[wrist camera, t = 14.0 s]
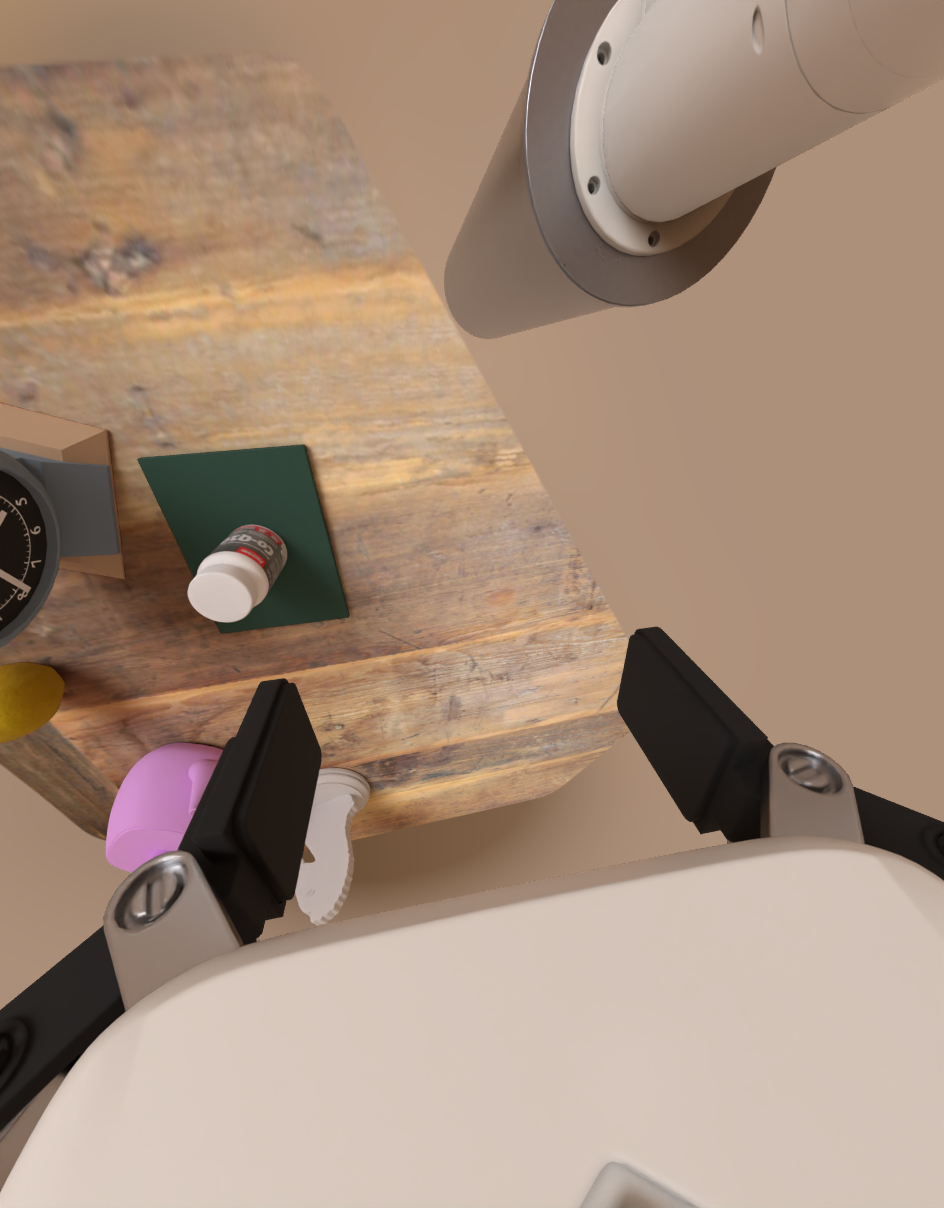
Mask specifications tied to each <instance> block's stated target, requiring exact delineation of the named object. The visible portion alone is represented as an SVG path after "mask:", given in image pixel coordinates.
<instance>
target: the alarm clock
mask: <svg viewBox="0 0 944 1208" xmlns="http://www.w3.org/2000/svg"><path fill="white" fill-rule="evenodd" d="M58 568H60V569H66V570H72V571H78V572H85V573H91V574H97V575H103V576H109V577H115V578H121V579H124V578H125V571H124V563H123V555H122V546H121V538H120V530H119V522H118V513H117V505H116V497H115V489H114V480H113V472H112V464H111V456H110V447H109V439H108V431H107V430H106V429H102V428H98V427H94V426H90V425H86V424H82V423H78V422H74V421H70V420H66V419H62V418H58V417H54V416H50V415H46V414H42V413H38V412H35V411H31V410H27V409H23V408H19V407H15V406H11V405H7V404H3V403H0V647H2V646H4V645H6V644H7V643H9V642H10V641H11V640H12V639H14V638H15V637H16V636H17V635H18V634H19V633H20V632H22V631H23V630H24V629H25V628H26V627H27V626H28V625H29V624H30V622H31V621H32V620H33V618H34V617H35V616H36V615H37V613H38V612H39V611H40V610H41V608H42V607H43V605H44V603H45V601H46V599H47V597H48V595H49V593H50V591H51V589H52V588H53V584H54V581H55V578H56V575H57V571H58Z"/></svg>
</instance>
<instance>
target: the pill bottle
mask: <svg viewBox="0 0 944 1208" xmlns="http://www.w3.org/2000/svg"><path fill="white" fill-rule="evenodd" d="M286 560H287V549H286V546H285V544H284V542H283V541H282V539H281V538H280V537H279V536H278V535H277V534H276V533H275V532H273V531H272V530H270V529H268V528H266V527H263V526H259V525H245V526H241V527H239V528H237V529H236V530H234V531H233V532H232V533H231V534H230V535H229V536H228V537H227V538H226V539H225V540H224V541H223V542H222V543H221V544H220V545H219V546H218V547H216V549H215V550H214V551H212V552H211V553H210V554H209V555H208V556H207V557H206V558H205V559H204V560H203V562H202V563H201V564H200V566H199V568H198V571H197V575H196V576H195V578H194V579H193V580H192V581H191V583H190V584H189V587H188V598H189V600H190V603H191V604H192V606H193V607H194V608H195V609H196V610H197V611H198V612H199V613H200V614H202V615H203V616H205V617H207V618H209V619H211V620H214V621H218V622H235V621H238V620H241V619H243V618H244V617H246V616H247V615H248V614H249V613H250V611H251V610H252V608H253V607H255V606H256V605H258V604H259V603H261V602H262V601H263V599H264V598H265V597H266V595H267V594H268V592H269V590H270V589H271V587H272V585H273V584H274V582H275V580H276V579H277V577H278V575H279V574H280V572H281V570H282V569H283V567H284V565H285V563H286Z"/></svg>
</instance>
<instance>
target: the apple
mask: <svg viewBox="0 0 944 1208" xmlns="http://www.w3.org/2000/svg"><path fill="white" fill-rule="evenodd" d="M64 690H65V683H64V681H63V679H62V677H61V676H60V675H58V673H57V672H56V671H55V670H54V669H53V668H52V667H49V666H46V665H40V664H36V663H32V662H19V663H13V664H6V665H2V666H0V743H4V742H8V741H12V740H14V739H17V738H20V737H22V736H25V735H27V734H29V733H31V732H33V731H35V730H37V729H38V728H40V727H41V726H43V725H44V724H45V723H47V722H48V721H49V720H50V719H51V718H52V717H53V716H54V715H55V713H56V712H57V710H58V708H59V707H60V704H61V700H62V697H63V694H64Z"/></svg>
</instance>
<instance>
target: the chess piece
mask: <svg viewBox="0 0 944 1208" xmlns="http://www.w3.org/2000/svg"><path fill="white" fill-rule="evenodd" d="M369 796H370V786H369V783H368V782H367V780H366V779H365V778H364V777H363V776H361V775H360V774H358V773H356V772H354V771H351V770H347V769H342V768H325V769H320V771H319V776H318V781H317V786H316V791H315V796H314V801H313V806H312V811H311V816H310V821H309V826H308V831H307V836H306V841H305V844H306V846H307V847H308V848H309V849H310V851H311V852H312V854H313V855H314V857H315V862H313V863H305V862H304V859H302V861H301V866H300V871H299V875H298V880H297V885H296V890H295V893H296V897H297V900H298V904H299V907H300V908H301V910H302V911H303V912H304V913H306V914H307V915H309V916H310V919H311V922H313V923H314V924H316V925H317V926H319V925H320V924H326V923H327V921H328V920H329V919H332V918H333V917H334V915H335V914H337V913H339V911H340V907H341V906H342V905H343V903H344V900H345V899H346V898H347V892H348V890H349V889H350V882H351V880H352V879H353V878H352V873H353V867H354V864H353V863H354V859H355V858H353V854H354V853H353V851H352V843H351V841H350V833H349V831H350V825H351V820H352V817H353V816H355V815H356V814H357V813H358V812H359V811H360V810H362V809H363V808H364V807H365V805H366V804H367V802H368V799H369Z"/></svg>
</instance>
